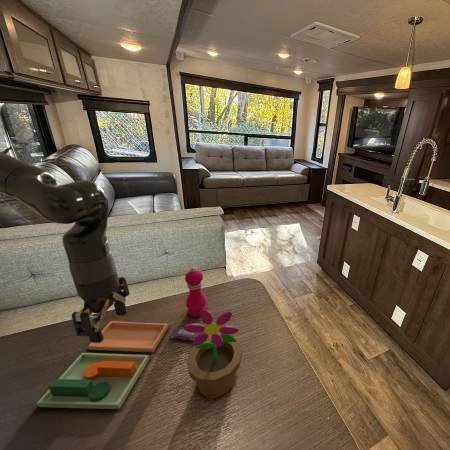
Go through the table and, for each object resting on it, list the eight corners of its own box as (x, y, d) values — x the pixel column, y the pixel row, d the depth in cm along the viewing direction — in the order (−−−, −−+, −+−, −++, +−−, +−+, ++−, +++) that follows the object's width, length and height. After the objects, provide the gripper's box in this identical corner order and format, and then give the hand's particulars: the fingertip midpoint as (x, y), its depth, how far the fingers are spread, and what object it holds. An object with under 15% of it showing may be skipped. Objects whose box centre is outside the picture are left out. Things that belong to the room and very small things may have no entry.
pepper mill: (185, 319, 91) (180, 274, 83) (188, 305, 98) (183, 262, 90) (206, 316, 93) (203, 272, 85) (207, 303, 100) (204, 261, 92)
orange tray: (89, 351, 76) (87, 346, 75) (111, 325, 86) (110, 321, 85) (153, 353, 77) (152, 348, 77) (168, 328, 87) (167, 323, 86)
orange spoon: (80, 380, 68) (76, 370, 66) (92, 365, 72) (89, 356, 70) (130, 381, 68) (127, 372, 67) (139, 367, 72) (137, 358, 71)
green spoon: (114, 385, 67) (111, 376, 66) (102, 402, 63) (99, 392, 62) (63, 383, 66) (59, 374, 65) (48, 401, 62) (43, 391, 61)
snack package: (169, 335, 82) (177, 324, 86) (170, 340, 82) (178, 328, 87) (203, 340, 81) (209, 328, 86) (204, 344, 82) (210, 332, 87)
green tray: (39, 408, 61) (36, 403, 60) (83, 357, 74) (82, 352, 73) (119, 410, 62) (117, 405, 61) (149, 360, 75) (148, 355, 75)
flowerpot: (186, 412, 63) (173, 323, 52) (193, 362, 76) (183, 282, 64) (243, 399, 67) (243, 315, 56) (240, 354, 80) (240, 277, 68)
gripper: (100, 254, 61) (114, 306, 67) (47, 291, 48) (70, 351, 54) (131, 256, 61) (142, 307, 68) (87, 294, 48) (106, 353, 54)
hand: (110, 327), depth 61 cm, fingers open, 8 cm apart
